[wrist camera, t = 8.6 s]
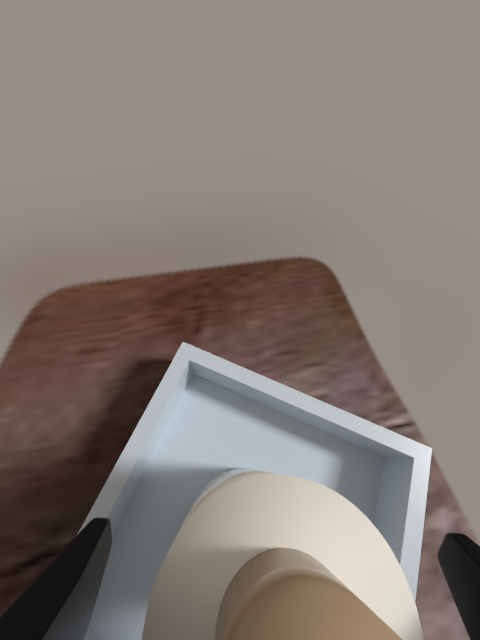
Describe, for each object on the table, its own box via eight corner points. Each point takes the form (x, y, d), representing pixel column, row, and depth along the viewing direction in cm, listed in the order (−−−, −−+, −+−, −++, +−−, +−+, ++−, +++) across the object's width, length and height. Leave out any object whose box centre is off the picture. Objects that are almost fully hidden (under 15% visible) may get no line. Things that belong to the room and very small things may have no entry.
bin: (338, 792, 12) (381, 908, 9) (48, 627, 14) (-2, 677, 10) (394, 450, 18) (432, 448, 15) (188, 360, 20) (182, 341, 16)
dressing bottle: (278, 636, 14) (659, 1679, 2) (162, 574, 14) (-70, 1075, 3) (315, 497, 16) (577, 587, 5) (216, 449, 17) (219, 421, 5)
